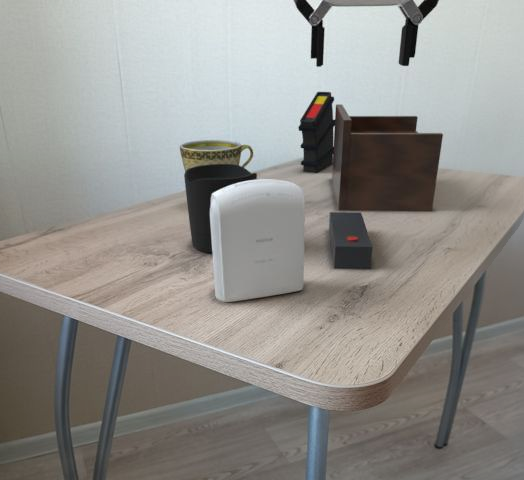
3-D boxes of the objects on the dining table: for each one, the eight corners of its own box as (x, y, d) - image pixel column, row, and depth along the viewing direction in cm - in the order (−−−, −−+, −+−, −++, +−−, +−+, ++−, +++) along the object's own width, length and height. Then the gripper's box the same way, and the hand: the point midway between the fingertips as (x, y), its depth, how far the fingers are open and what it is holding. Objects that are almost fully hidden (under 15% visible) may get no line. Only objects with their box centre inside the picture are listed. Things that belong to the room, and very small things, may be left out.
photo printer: (220, 306, 59) (214, 189, 53) (210, 291, 62) (203, 180, 56) (308, 293, 62) (312, 180, 56) (294, 279, 65) (297, 172, 59)
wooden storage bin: (408, 181, 109) (418, 104, 102) (431, 212, 90) (445, 120, 83) (331, 180, 110) (335, 104, 103) (338, 211, 91) (343, 120, 84)
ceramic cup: (201, 217, 88) (196, 152, 83) (174, 204, 95) (169, 143, 90) (268, 205, 94) (268, 144, 89) (239, 193, 101) (237, 136, 96)
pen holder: (179, 253, 73) (172, 177, 68) (203, 232, 81) (199, 162, 76) (246, 259, 71) (244, 181, 66) (265, 237, 79) (265, 165, 74)
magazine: (339, 154, 126) (333, 91, 114) (320, 190, 119) (311, 128, 108) (323, 152, 127) (316, 90, 115) (304, 189, 121) (294, 127, 109)
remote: (359, 232, 81) (361, 210, 79) (370, 270, 68) (373, 244, 66) (328, 232, 81) (329, 210, 79) (333, 269, 68) (335, 244, 66)
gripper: (287, -135, 52) (285, 68, 61) (473, -140, 51) (444, 66, 60) (289, -116, 59) (287, 65, 67) (453, -120, 58) (430, 63, 66)
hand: (361, 65), depth 63 cm, fingers open, 9 cm apart
